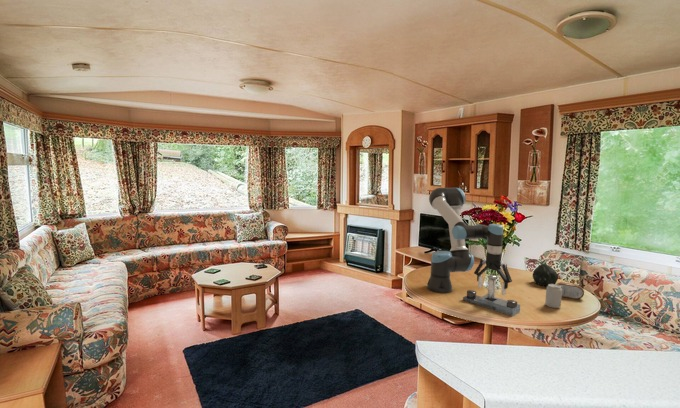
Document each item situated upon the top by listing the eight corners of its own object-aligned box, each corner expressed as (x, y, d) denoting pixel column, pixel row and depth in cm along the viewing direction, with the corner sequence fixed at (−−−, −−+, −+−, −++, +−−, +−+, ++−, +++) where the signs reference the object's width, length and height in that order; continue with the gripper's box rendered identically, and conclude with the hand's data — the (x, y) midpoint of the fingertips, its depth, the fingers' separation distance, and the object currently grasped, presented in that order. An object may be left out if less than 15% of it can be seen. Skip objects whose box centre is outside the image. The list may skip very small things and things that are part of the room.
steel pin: (484, 305, 204) (486, 275, 202) (488, 303, 207) (490, 274, 205) (492, 308, 200) (494, 277, 198) (496, 306, 203) (498, 276, 201)
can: (552, 309, 201) (554, 288, 200) (541, 304, 208) (543, 283, 207) (563, 308, 203) (565, 287, 202) (552, 303, 210) (554, 282, 209)
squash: (560, 275, 247) (544, 257, 249) (564, 282, 233) (548, 263, 235) (541, 286, 252) (526, 269, 254) (544, 294, 238) (528, 275, 240)
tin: (583, 299, 218) (584, 285, 217) (583, 300, 215) (585, 286, 214) (554, 294, 225) (555, 280, 225) (553, 295, 223) (555, 282, 222)
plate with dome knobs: (463, 300, 211) (463, 290, 210) (471, 297, 217) (471, 287, 216) (512, 316, 190) (513, 305, 189) (519, 312, 196) (520, 301, 195)
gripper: (469, 249, 207) (467, 286, 209) (514, 258, 188) (511, 298, 191) (476, 247, 212) (473, 283, 214) (520, 256, 193) (517, 295, 196)
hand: (491, 290), depth 202 cm, fingers open, 13 cm apart
